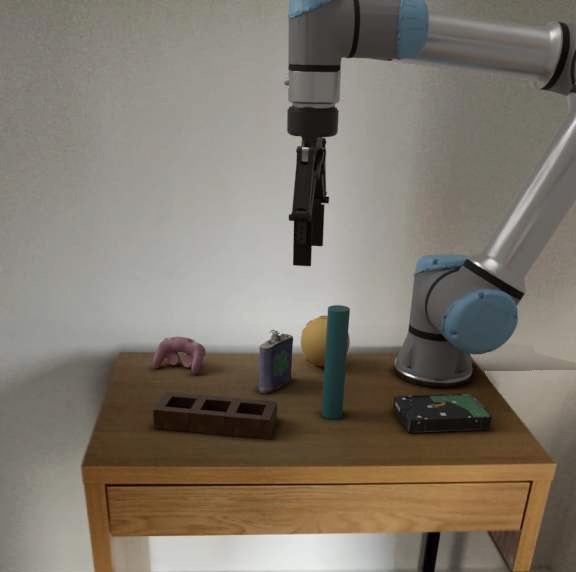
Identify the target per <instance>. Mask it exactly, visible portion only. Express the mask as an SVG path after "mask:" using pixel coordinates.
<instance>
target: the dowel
mask: <svg viewBox="0 0 576 572" xmlns="http://www.w3.org/2000/svg"><path fill="white" fill-rule="evenodd" d="M350 313H351V308H350V307H348V306H346V305H341V304H335V305H334V304H333V305H329V306H328V307H327V315H326V316H327V333H326V350H325V367H323V368H324V369H323V383H322V384H323V385H322V386H323V387H322V401H321V402H322V405H321V416H322V417H323V418H325V419H329V420H338V419H341V418H342V416H343V410H344V409H343V408H344V406H343V405H344V395H345V380H346V370H347V368H346V367H347V357H348V356H347V354H348V352H347V342H348V334H349V326H350Z"/></svg>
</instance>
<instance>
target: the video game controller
mask: <svg viewBox="0 0 576 572" xmlns="http://www.w3.org/2000/svg"><path fill="white" fill-rule="evenodd" d="M179 353H182V354H185V355H184V356H183V357H182V360H181V357H180V355H179ZM205 356H206V348H205V347H204V345H203V344H201V343H199V341H197V340H194V339H193V338H190V337H185V336H172V337H171V336H170V337H164V338H163V340H162V341H160V342H159V344H158V347H157V349H156V351H155V353H154V356H153V359H152V366H153V368H154V369H158V368H160V367H161V366H162V364H163V363H164V361H165V360H166V359H167V362H168V364H169V365H171V366H178V365H179V364H180V362H181V364H182V365H183V367H185V368H187V369H191V373H192V375H197V374H198V373H199V372H200V370H201V367H202V365H203V361H204V358H205Z"/></svg>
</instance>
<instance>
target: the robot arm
mask: <svg viewBox="0 0 576 572" xmlns="http://www.w3.org/2000/svg"><path fill="white" fill-rule="evenodd" d="M288 3H289V5H288V13H287V19H288V48H287V49H288V65H287V67H288V73H287V74H288V77H285V78H284V81H283V84H284V86H286V87H288V88H287V101H289V103H291V106H288V108H287V111H286V113H287V115H286V118H287V119H286V130H287V131H286V132H287V134H288V135H289V136H292V137H300V138H301V145H297V146H296V150H295V153H296V159H295V161H296V163H295V164H296V165H295V174H294V184H293V185H294V186H293V197H292V207H291V208H292V209H291V212H290V213H291V214H288V221H289V222H293V243H292V244H293V246H292V247H293V248H292V266H295V267H296V266H299V267H311V266H312V254H313V253H312V251H313V250H312V248H313V247H324V228H325V227H324V225H325V205H326V204H330V196H327V195H328V191H327V167H326V165H327V164H326V163H327V161H326V159H327V148H326V146H327V139H326V138H332V137H335V136H336V135H337V134H338V133H339V113H340V112H339V109H338V107H336V104H338V103H340V99H341V76H342V72H341V71H342V70H341V67H342V66H341V65H342V59H369V60H370V59H371V60H375V61H376V60H377V61H385V62H394V63H401V64H407V65H415V66H423V67H428V68H429V67H430V68H436V69H443V70H450V71H459V72H464V73H470V74H478V75H486V76H492V77H499V78H500V77H501V78H508V79H512V80H521V81H522V80H523V81H529V83H530V85H531V87H532V88H533V89H535V90H539V91H540V90H541V91H548V92H552V93H555V94H559V95H562V96H566V99H567V100H566V101H567V107H568V110H567V114H566V115H565V117H564V118H563V120H562V122H561V123H560V125H559V126H558V128H557V130H556V131H555V132H554V134H553V136H552V137H551V139H550V141H549V142H548V144H547V145H546V147H545V149H544V150H543V152H542V154H541V155H540V157H539V159H538V160H537V162H536V163H535V164H534V167H533V168H532V170H531V171H530V173H529V175H528V176H527V178H526V179H525V181H524V182H523V184H522V185H521V187H520V188H519V191H518V192H517V194H516V195H515V197H514V198H513V200H512V202H511V204H510V205H509V206H508V208H507V209H506V211H505V213H504V214H503V216H502V217H501V220H500V221H499V223H498V224H497V226H496V227H495V229H494V230H493V233H492V234H491V236H490V237H489V238H488V239H487V242H486V244H485V245H484V247H483V248H482V250H481V251H480V252H478V253H476V254H471V255H465V254H451V253H450V254H449V253H448V254H447V253H446V254H445V253H442V254H441V253H440V254H439V253H437V254H436V253H435V254H425V255H422V256H420V257H419V258H418V259H417V261H416V263H415V264H416V265H415V266H416V267H415V270H414V273H413V286H412V295H411V303H410V311H409V321H408V330H407V334H406V337H405V339H404V341H403V344H402V346H401V347H400V350H399V352H398V354H397V355H396V356H395V358H394V361H393V363H394V373H395V375H397V377H398V378H400V379H402V380H403V381H405V382H408V383H411V384H414V385H418V386H421V387H427V388H428V387H430V388H453V387H459V386H462V385H464V384H467V383H468V382H469V381H470V380H471V379H472V375H473V369H474V370H477V369H478V365H476V364H474V363H473V362H472V356H471V355H484V354H487V353H491V352H494V351H496V350H498V349H499V348H501V347H502V346H503V345H504V344H506V343H507V342H508V341H509V339H511V337H512V336H513V334H514V333H515V331H516V329H517V326H518V322H519V317H518V315H519V314H518V312H519V311H518V310H519V309H518V305H519V303H520V302H521V300H522V299H523V298H524V296H525V294H526V293H527V289H526V283H525V282H526V281H525V279H526V276H527V275H528V273H529V272H530V271H531V269H532V267H533V266H534V265H535V263H536V261H537V260H538V259H539V257H540V256H541V254H542V253H543V251H544V249H545V248H546V246H547V245H548V243H549V242H550V241H551V238H552V237H553V236H554V234H555V233H556V231H557V230H558V228H559V227H560V225H561V224H562V223H563V220H564V219H565V218H566V216H567V215H568V213H569V212H570V210H571V208H572V207H573V206H574V203H576V22H562V21H555V20H552V21H549V22H548V23H546V24H545V25H544V26H536V25H532V24H525V23H517V22H511V21H505V20H498V19H492V18H485V17H478V16H472V15H467V14H466V15H465V14H460V13H454V12H453V13H452V12H448V11H447V12H445V11H438V10H433V9H429V8H428V5H427V3H426V1H425V0H289V2H288Z"/></svg>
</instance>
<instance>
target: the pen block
mask: <svg viewBox="0 0 576 572" xmlns="http://www.w3.org/2000/svg"><path fill="white" fill-rule="evenodd" d="M152 416H153V417H152V418H153V428H154V429H155V430H166V431H176V432H187V433H197V434H198V433H199V434H210V435H221V436H229V437H230V436H231V437H240V438H252V439H263V440H270V439H271V437H272V433H273V431H274V428H275V426H276V423H277V421H278V420H277V419H278V401H275V400H263V399H251V398H240V397H239V398H238V397H227V396H217V395H206V394H205V395H204V394H194V393H193V394H192V393H183V392H170V391H165V393H164V394H163V395H162V397H161V398H160V399H159V400H158V402H157V403H156V405H155V406H154V408H153V409H152Z"/></svg>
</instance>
